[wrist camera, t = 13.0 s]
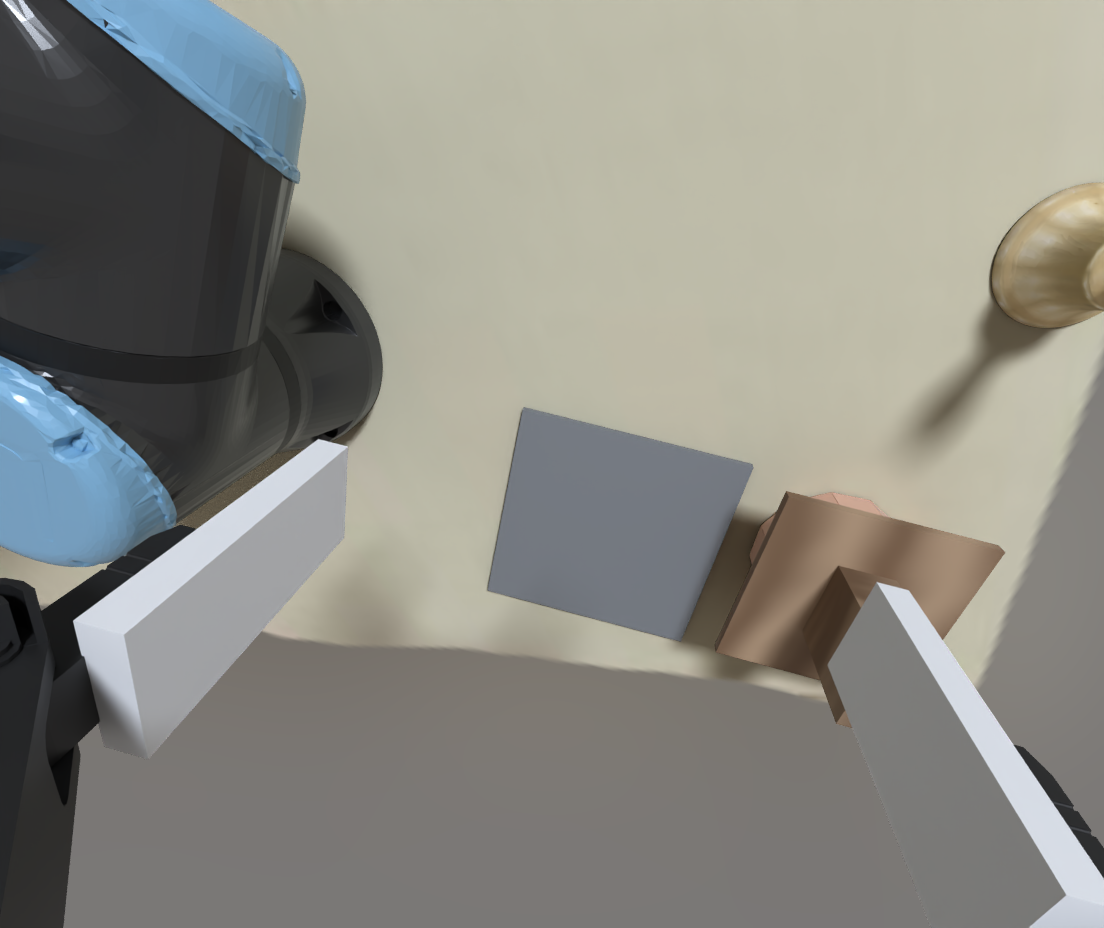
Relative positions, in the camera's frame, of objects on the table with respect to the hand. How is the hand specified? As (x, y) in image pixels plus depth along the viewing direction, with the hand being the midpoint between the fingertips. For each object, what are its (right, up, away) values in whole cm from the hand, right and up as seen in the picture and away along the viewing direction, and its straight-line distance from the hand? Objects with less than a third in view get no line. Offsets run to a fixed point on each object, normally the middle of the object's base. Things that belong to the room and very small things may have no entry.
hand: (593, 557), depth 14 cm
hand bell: (+31, +15, +20) cm, 40 cm away
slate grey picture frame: (+4, -3, +33) cm, 33 cm away
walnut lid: (+20, -7, +26) cm, 33 cm away
